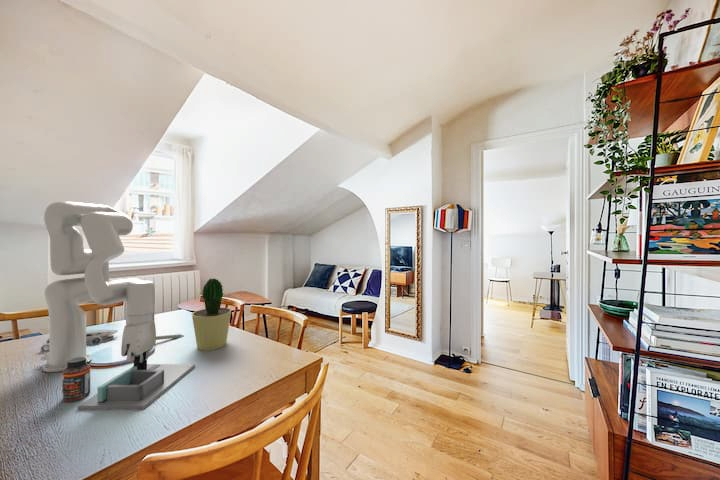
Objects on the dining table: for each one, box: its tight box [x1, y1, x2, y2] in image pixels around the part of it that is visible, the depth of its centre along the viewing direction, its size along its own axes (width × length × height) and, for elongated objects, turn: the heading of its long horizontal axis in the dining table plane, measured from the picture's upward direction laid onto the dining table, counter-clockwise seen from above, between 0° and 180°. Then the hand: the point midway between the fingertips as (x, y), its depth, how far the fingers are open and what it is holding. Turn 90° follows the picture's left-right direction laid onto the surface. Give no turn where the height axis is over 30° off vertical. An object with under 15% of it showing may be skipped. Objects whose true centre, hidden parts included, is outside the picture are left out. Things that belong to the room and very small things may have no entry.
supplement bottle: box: [61, 357, 91, 403], centre depth 84 cm, size 6×6×11 cm
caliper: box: [156, 333, 185, 341], centre depth 128 cm, size 20×1×6 cm, turn 145°
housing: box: [77, 363, 196, 410], centre depth 92 cm, size 18×26×5 cm
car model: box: [39, 328, 119, 353], centre depth 126 cm, size 11×24×5 cm, turn 127°
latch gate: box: [97, 365, 137, 402], centre depth 86 cm, size 1×13×4 cm, turn 1°
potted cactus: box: [191, 278, 232, 351], centre depth 125 cm, size 15×15×30 cm
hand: (140, 372), depth 95 cm, fingers closed
